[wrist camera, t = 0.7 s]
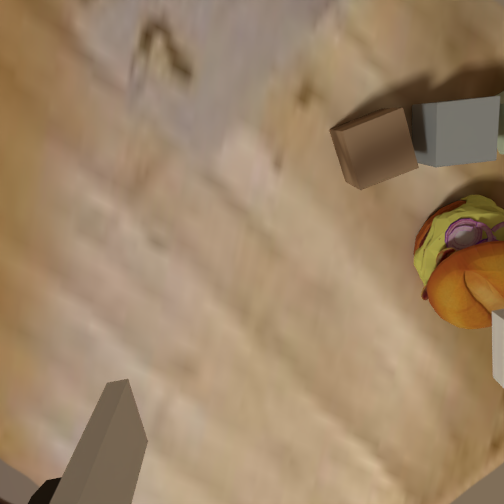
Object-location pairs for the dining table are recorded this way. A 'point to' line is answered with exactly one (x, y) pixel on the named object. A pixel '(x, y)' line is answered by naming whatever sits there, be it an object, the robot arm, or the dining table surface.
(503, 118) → the sage block
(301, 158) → the dining table surface
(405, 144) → the walnut block
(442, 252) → the cheeseburger
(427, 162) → the slate block
